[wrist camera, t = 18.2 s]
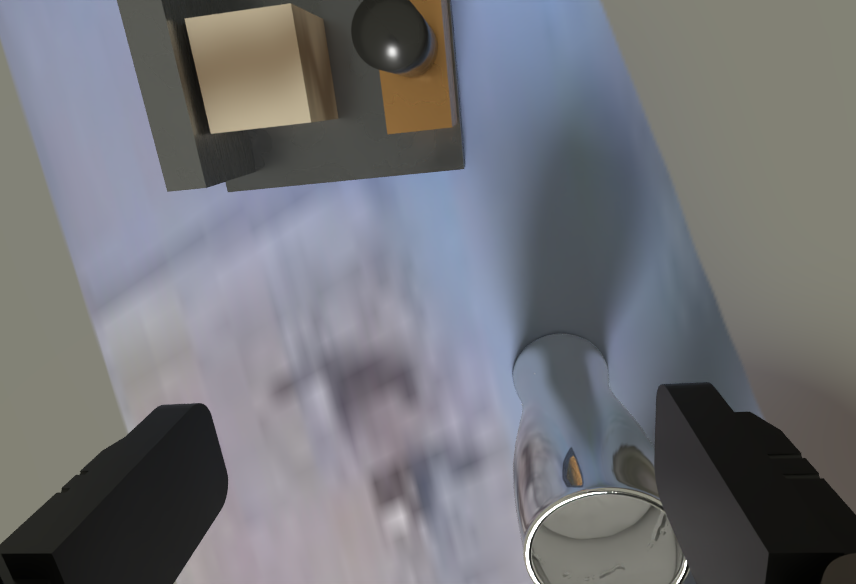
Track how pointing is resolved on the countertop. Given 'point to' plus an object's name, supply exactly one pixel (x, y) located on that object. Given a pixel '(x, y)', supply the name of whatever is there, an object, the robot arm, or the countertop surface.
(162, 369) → the countertop surface
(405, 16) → the press ram
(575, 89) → the countertop surface
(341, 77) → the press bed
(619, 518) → the beer glass
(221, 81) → the block
